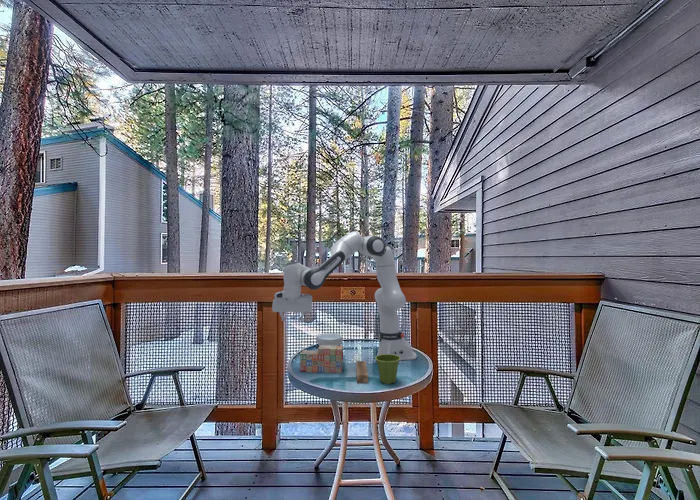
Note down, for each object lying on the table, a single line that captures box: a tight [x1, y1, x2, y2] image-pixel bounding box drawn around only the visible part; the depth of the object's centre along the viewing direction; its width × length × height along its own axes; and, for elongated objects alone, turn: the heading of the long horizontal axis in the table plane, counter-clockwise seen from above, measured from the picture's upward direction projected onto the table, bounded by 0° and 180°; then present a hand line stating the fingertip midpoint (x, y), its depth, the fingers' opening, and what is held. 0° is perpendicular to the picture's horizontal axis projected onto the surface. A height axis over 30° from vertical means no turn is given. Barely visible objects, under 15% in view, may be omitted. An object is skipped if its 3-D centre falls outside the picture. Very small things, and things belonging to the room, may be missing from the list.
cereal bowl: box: [315, 332, 343, 346], centre depth 224 cm, size 17×17×7 cm
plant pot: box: [374, 354, 401, 385], centre depth 168 cm, size 12×12×11 cm
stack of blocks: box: [299, 345, 344, 374], centre depth 183 cm, size 21×6×12 cm, turn 85°
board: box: [355, 360, 369, 384], centre depth 176 cm, size 5×20×4 cm, turn 0°
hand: (292, 320), depth 183 cm, fingers open, 8 cm apart
